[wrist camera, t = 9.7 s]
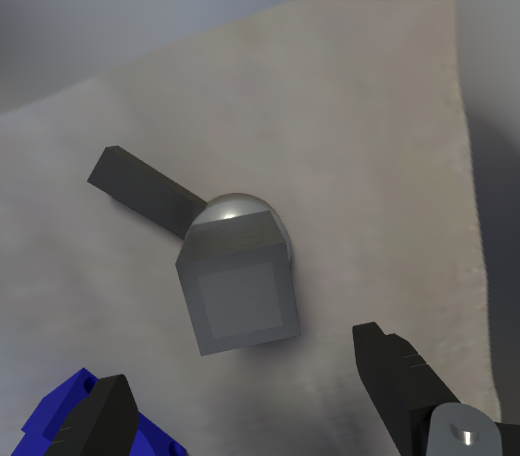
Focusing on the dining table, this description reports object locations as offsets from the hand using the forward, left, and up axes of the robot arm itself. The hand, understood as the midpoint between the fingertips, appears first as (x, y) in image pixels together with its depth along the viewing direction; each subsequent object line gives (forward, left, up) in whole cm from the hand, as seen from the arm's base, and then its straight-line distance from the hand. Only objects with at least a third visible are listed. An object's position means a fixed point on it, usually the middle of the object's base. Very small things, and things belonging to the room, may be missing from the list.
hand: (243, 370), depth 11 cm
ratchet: (+3, 0, -13) cm, 13 cm away
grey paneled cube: (0, 0, -10) cm, 10 cm away
